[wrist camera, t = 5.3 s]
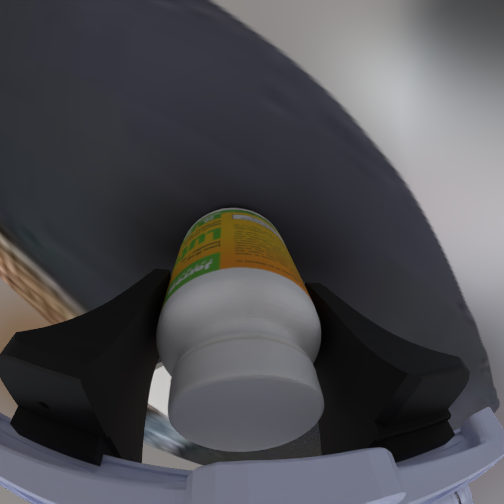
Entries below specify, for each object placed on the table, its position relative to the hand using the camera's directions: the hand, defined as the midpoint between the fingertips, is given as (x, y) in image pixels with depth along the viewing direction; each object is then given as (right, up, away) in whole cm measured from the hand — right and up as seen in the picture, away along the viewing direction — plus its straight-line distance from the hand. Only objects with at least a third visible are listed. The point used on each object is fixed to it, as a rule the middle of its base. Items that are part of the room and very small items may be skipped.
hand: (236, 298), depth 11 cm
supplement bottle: (0, +2, +4) cm, 4 cm away
